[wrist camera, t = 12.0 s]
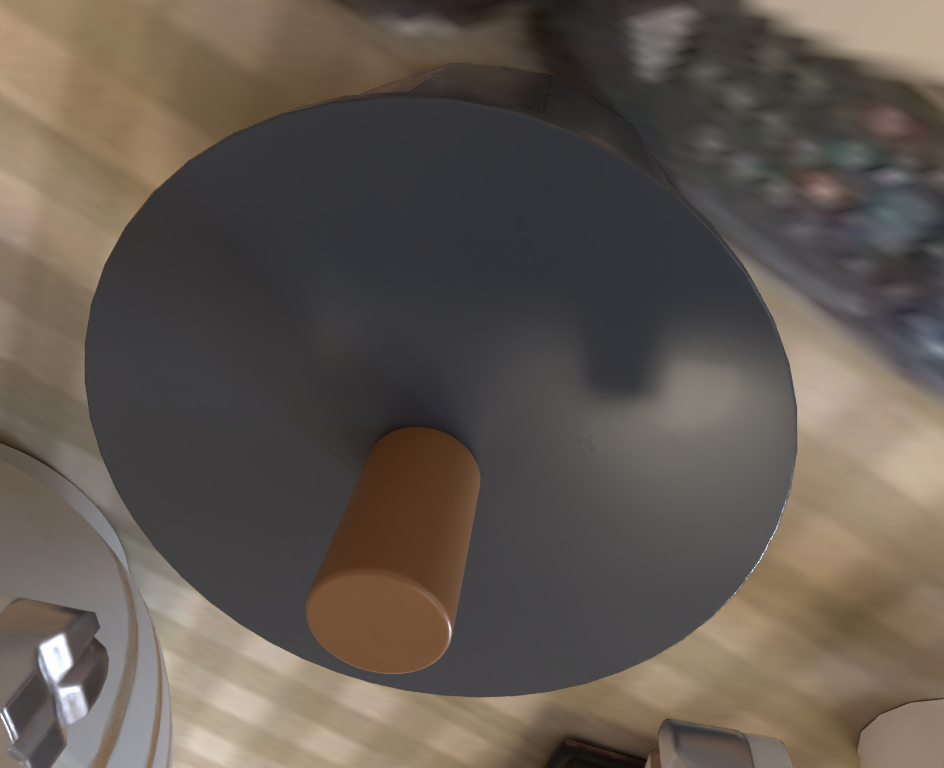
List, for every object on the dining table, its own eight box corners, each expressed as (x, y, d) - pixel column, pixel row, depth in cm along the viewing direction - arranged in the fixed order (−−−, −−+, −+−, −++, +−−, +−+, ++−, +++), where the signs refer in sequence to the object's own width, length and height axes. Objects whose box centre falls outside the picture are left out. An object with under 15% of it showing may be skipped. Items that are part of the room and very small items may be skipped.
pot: (746, 96, 19) (876, 177, 11) (637, 478, 26) (667, 703, 18) (272, 37, 20) (63, 72, 12) (289, 424, 27) (165, 615, 19)
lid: (906, 145, 11) (1129, 250, 7) (678, 699, 19) (712, 924, 14) (53, 37, 12) (-255, 66, 8) (162, 609, 19) (40, 794, 15)
